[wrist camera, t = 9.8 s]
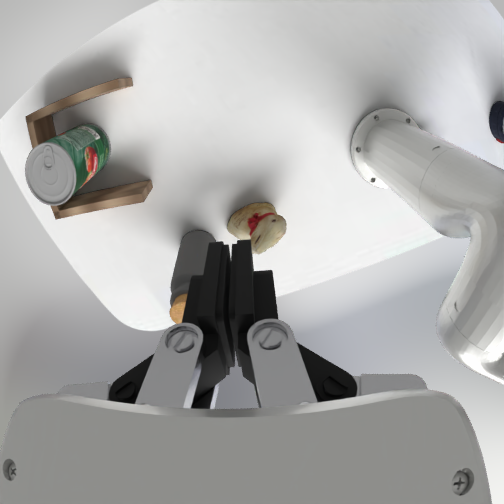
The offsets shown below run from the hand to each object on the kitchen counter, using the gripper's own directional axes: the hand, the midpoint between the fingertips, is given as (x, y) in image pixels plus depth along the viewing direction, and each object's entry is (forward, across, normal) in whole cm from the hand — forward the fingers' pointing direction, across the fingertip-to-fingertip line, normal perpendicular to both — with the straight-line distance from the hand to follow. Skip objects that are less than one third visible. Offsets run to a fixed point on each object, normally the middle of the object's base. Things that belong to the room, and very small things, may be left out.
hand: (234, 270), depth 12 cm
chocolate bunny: (+29, -1, +13) cm, 32 cm away
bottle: (+28, +8, +17) cm, 34 cm away
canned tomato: (+28, +22, -2) cm, 36 cm away
